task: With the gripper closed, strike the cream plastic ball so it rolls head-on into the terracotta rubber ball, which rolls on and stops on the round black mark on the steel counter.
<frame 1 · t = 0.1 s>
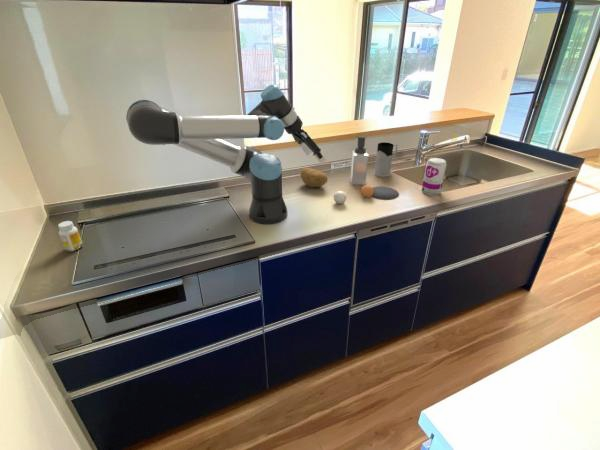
hand: (316, 157, 151), 15 cm above the worktop, tool tilted 35°, fingers open, 13 cm apart
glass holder: (385, 172, 178), on the worktop
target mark: (382, 193, 155), on the worktop
supplement bottle: (74, 248, 118), on the worktop
potato: (313, 186, 162), on the worktop
supplement can: (430, 192, 156), on the worktop
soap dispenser: (357, 181, 168), on the worktop
object ball: (367, 191, 150), on the worktop
cue ball: (340, 197, 145), on the worktop
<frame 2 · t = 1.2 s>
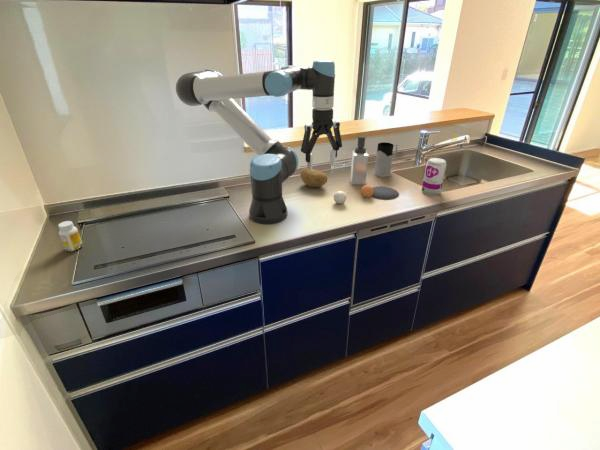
hand: (321, 167, 134), 18 cm above the worktop, tool pointing down, fingers open, 9 cm apart
nothing on the worktop moved.
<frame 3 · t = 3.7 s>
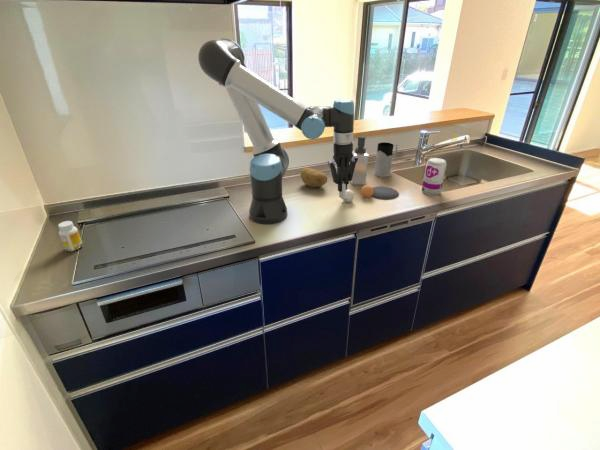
hand: (342, 197, 144), 3 cm above the worktop, tool pointing down, fingers closed
cue ball: (347, 195, 146), on the worktop
everything else where it was.
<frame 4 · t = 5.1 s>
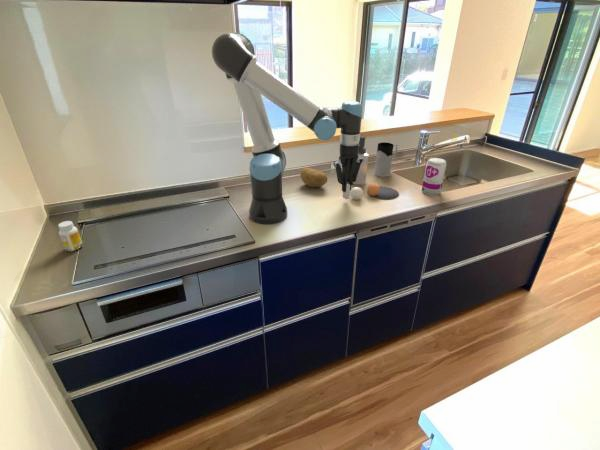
hand: (345, 197, 147), 2 cm above the worktop, tool pointing down, fingers closed
object ball: (373, 189, 152), on the worktop
cue ball: (356, 193, 148), on the worktop
everything else where it was.
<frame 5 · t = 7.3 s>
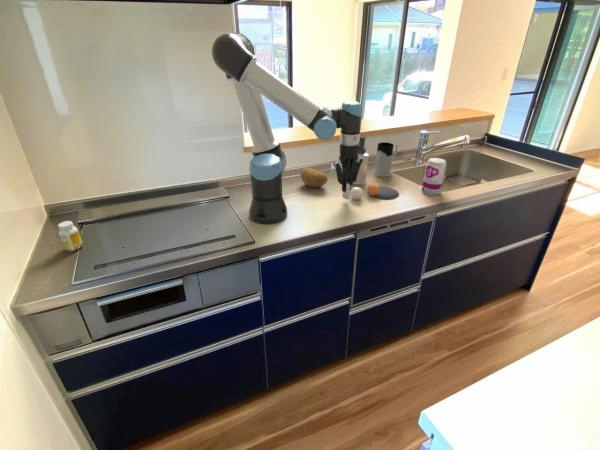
hand: (345, 197, 147), 2 cm above the worktop, tool pointing down, fingers closed
nothing on the worktop moved.
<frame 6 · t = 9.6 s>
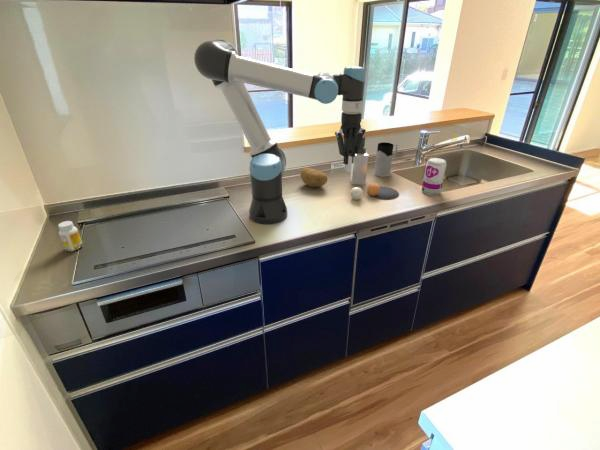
hand: (347, 171, 141), 14 cm above the worktop, tool pointing down, fingers closed
nothing on the worktop moved.
at the end: object ball 5.6 cm from the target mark (horizontally); object ball never touched the robot; cue ball first touched object ball at 4.0 s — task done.
